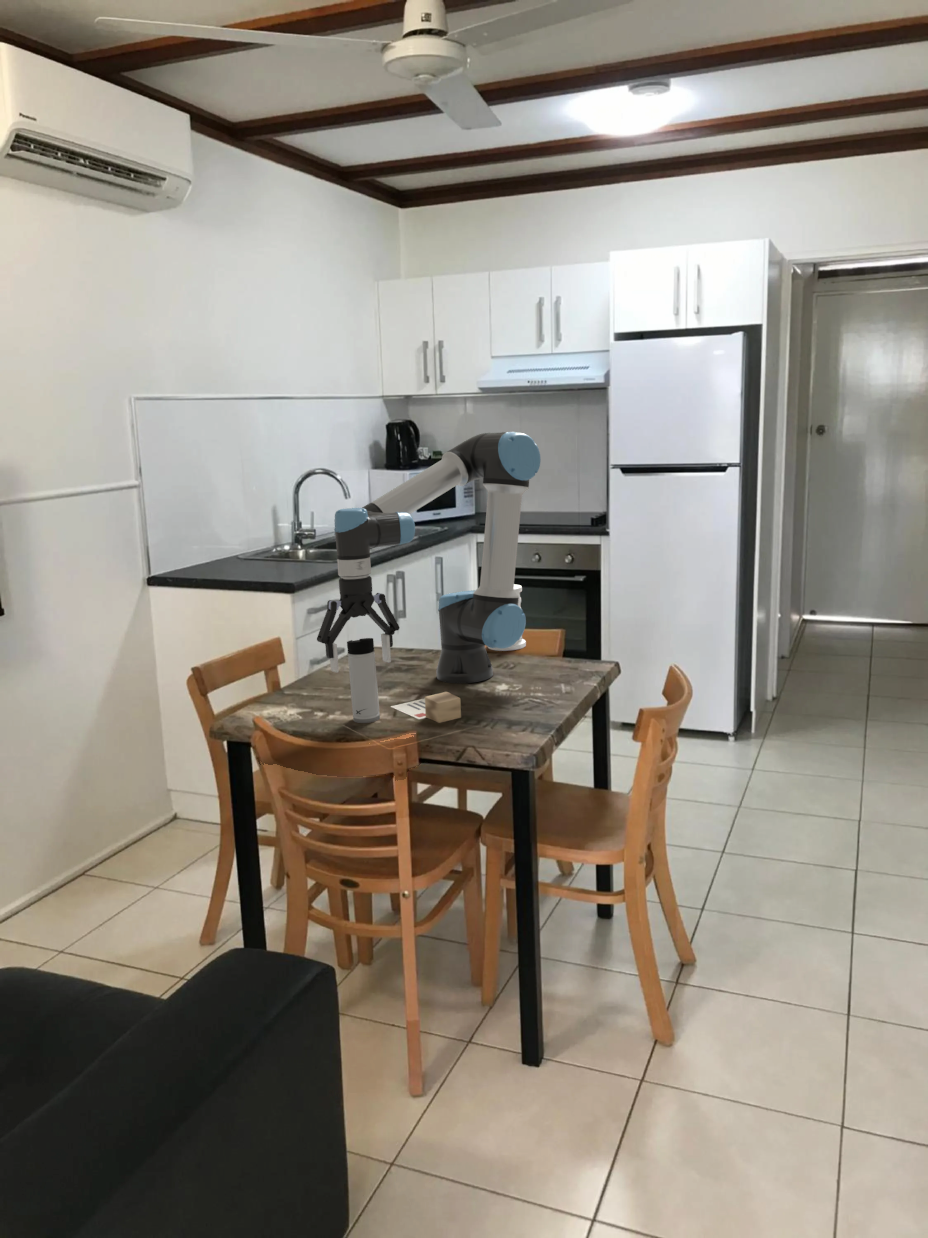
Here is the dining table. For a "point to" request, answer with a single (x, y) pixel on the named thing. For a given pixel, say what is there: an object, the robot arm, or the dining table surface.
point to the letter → (413, 708)
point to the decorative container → (521, 642)
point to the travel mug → (363, 680)
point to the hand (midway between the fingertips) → (361, 666)
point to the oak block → (442, 707)
